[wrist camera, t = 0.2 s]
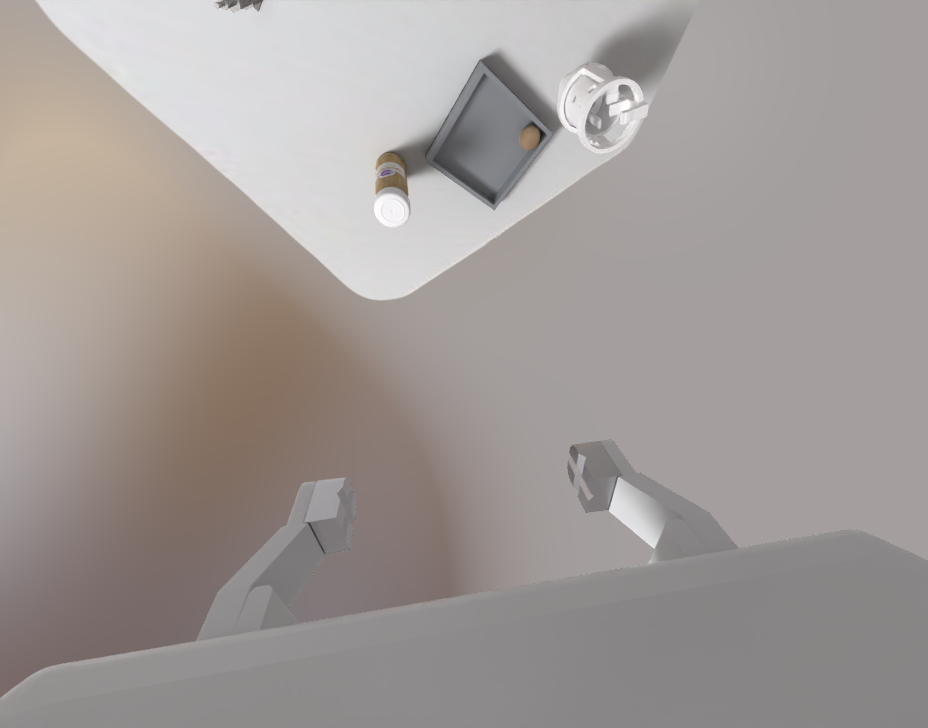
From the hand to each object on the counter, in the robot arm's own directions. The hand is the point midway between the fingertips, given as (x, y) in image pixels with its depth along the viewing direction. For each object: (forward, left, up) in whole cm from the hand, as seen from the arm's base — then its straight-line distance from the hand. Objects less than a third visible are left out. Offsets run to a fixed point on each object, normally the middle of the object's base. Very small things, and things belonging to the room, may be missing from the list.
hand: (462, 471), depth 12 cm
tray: (-2, +13, -52) cm, 53 cm away
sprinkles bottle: (+9, +3, -52) cm, 53 cm away
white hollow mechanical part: (-14, +18, -52) cm, 57 cm away
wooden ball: (-6, +17, -50) cm, 53 cm away
